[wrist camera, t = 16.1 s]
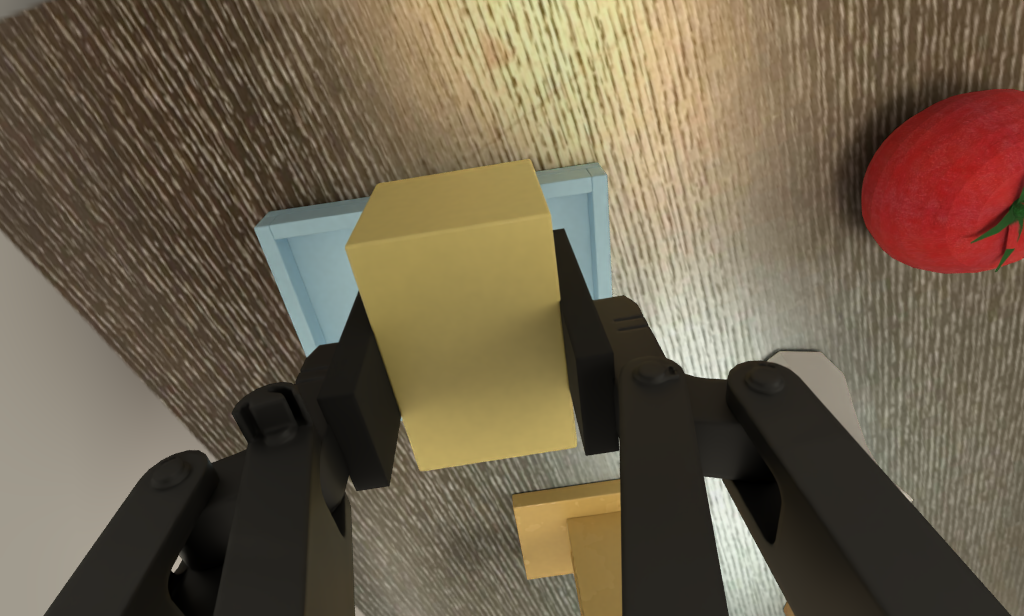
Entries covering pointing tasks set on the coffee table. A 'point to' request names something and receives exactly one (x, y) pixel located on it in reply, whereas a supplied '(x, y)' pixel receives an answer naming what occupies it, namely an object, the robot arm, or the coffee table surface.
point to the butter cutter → (575, 540)
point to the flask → (826, 389)
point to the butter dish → (327, 227)
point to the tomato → (951, 185)
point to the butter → (467, 312)
